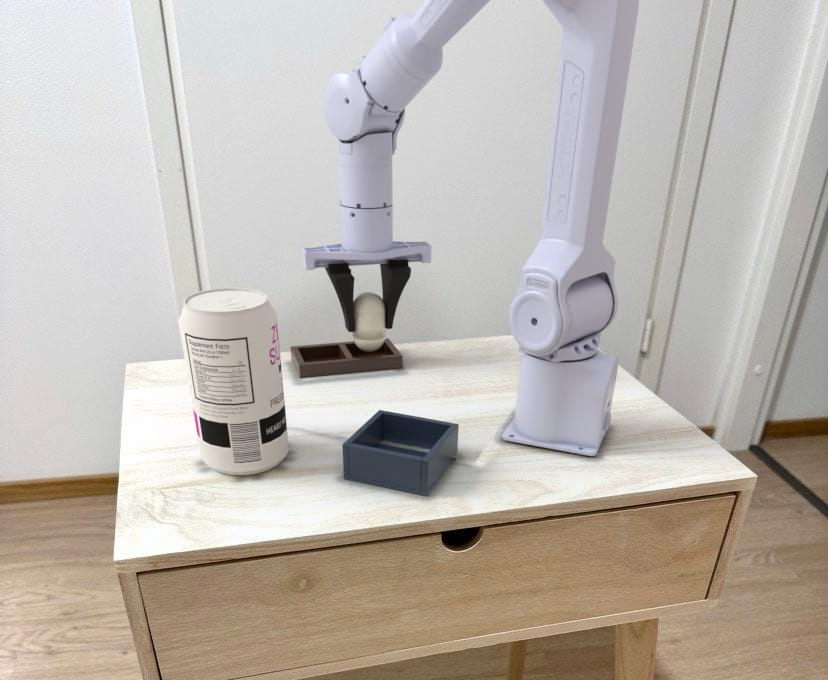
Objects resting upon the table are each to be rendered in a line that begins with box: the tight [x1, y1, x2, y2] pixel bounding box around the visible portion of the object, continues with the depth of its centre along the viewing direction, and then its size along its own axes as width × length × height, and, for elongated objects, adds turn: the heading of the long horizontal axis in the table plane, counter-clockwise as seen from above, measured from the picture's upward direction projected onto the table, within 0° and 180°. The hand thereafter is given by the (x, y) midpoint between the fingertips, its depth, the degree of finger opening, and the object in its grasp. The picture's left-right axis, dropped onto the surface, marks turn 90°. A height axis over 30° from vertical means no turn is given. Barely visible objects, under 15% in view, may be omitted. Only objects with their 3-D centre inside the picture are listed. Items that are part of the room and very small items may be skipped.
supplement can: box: [178, 287, 289, 476], centre depth 68 cm, size 8×8×15 cm
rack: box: [290, 337, 404, 379], centre depth 91 cm, size 7×12×2 cm, turn 106°
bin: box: [341, 409, 460, 497], centre depth 70 cm, size 8×8×4 cm
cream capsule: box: [351, 291, 387, 352], centre depth 90 cm, size 4×4×7 cm
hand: (369, 327), depth 90 cm, fingers closed on cream capsule, 4 cm apart
